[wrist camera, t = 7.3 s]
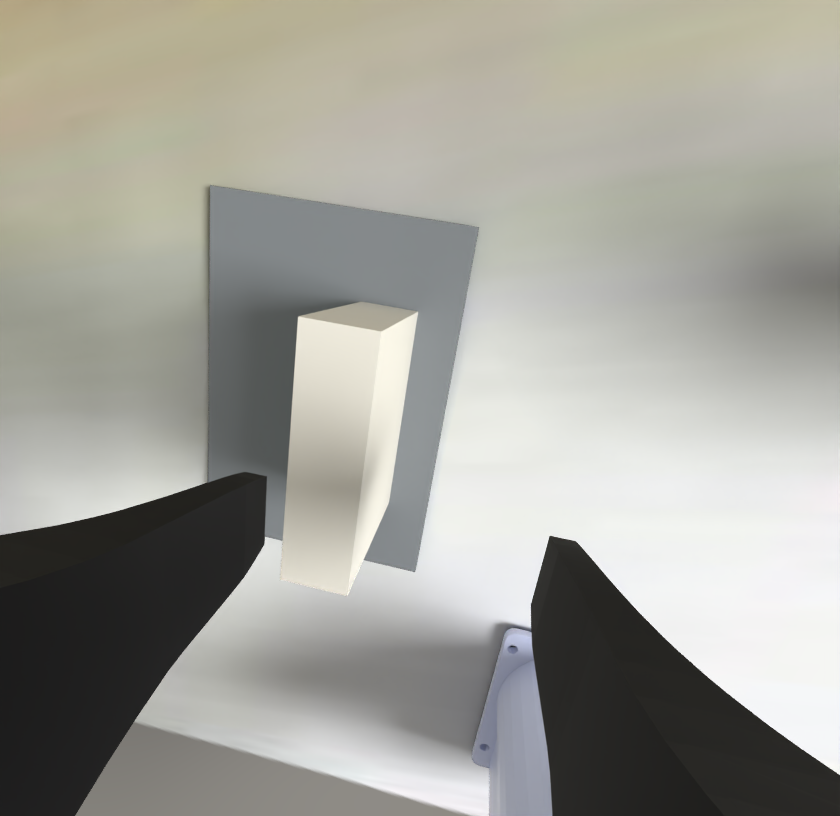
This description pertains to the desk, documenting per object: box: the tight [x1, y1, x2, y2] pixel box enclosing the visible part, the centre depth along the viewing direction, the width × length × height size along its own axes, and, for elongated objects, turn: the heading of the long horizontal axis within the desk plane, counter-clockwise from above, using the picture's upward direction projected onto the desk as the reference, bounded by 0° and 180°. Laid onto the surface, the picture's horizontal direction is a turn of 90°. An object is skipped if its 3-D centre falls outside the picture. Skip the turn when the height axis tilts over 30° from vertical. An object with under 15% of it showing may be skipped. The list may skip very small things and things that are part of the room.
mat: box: [208, 185, 479, 572], centre depth 20 cm, size 16×11×1 cm
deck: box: [280, 302, 418, 596], centre depth 17 cm, size 9×2×6 cm, turn 171°
